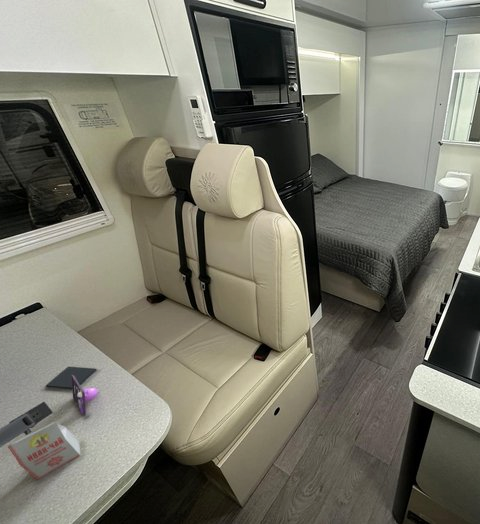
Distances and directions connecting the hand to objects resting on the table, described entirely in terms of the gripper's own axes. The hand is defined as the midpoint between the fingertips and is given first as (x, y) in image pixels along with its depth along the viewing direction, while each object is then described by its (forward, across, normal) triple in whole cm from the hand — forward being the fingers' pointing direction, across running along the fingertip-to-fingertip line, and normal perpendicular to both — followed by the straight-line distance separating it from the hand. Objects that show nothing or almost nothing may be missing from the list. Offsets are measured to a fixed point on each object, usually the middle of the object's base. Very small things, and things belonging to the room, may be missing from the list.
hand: (7, 431), depth 52 cm
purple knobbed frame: (+21, -1, -5) cm, 22 cm away
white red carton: (+8, -3, -11) cm, 14 cm away
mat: (+30, -6, +3) cm, 31 cm away
